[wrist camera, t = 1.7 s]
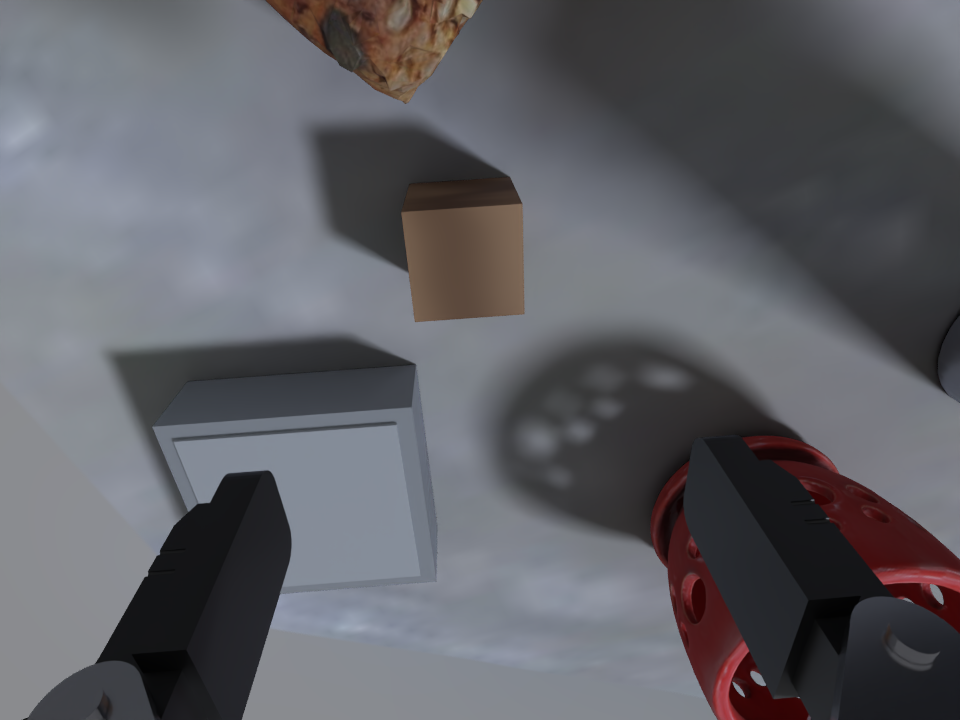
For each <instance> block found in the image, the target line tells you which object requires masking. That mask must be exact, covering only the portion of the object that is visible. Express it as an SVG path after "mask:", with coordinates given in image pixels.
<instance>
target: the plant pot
mask: <svg viewBox="0 0 960 720" xmlns="http://www.w3.org/2000/svg"><path fill="white" fill-rule="evenodd" d="M742 439H743V440H744V441H745V442H746V444H747V445H748V446H749V448H750V449H751V450H752V452H753V453H754V454H755V456H756V457H757V458H758V460H759V461H761V460H772V461H773V462H775V463H776V464H777V465H779V466H780V467H782V468H783V469H785V470H786V471H788V472H789V473H791V474H792V475H794V476H795V477H797V479H798V480H799V481H800V482H801V484H802V485H803V486H804V487H805V488H806V490H807V491H808V492H809V493H810V495H811V496H812V497H813V498H814V501H815V504H819V506H820V507H821V508H822V509H823V511H824V512H825V513H826V514H827V516H828V517H829V520H830V523H834V524H835V525H836V527H837V528H838V529H839V530H840V532H841V533H842V534H843V535H844V536H845V538H846V539H847V540H848V541H849V543H850V544H851V545H852V546H853V548H854V549H855V550H856V551H857V552H858V554H859V555H860V556H861V557H862V559H863V560H864V561H865V562H866V564H867V565H868V566H869V567H870V568H871V570H872V571H873V572H874V573H875V575H876V576H877V577H878V578H879V580H880V581H881V582H882V583H883V585H884V586H885V587H886V588H887V589H888V591H889V592H890V593H891V594H892V595H893V596H894V598H898V599H902V600H903V599H904V598H908V599H910V600H911V601H912V602H913V603H914V604H916V605H919V606H921V607H923V608H925V609H927V610H929V611H931V612H933V613H934V614H936V615H937V616H939V617H940V618H942V619H943V620H945V621H946V622H947V623H948V624H950V625H951V626H952V627H953V628H954V629H955V630H956V631H957V632H958V633H959V634H960V559H959V558H957V557H956V556H955V555H954V554H953V553H952V552H951V551H950V550H949V549H948V548H947V547H945V546H944V545H943V544H942V543H941V542H940V541H939V540H938V539H936V538H935V537H934V536H933V535H932V534H931V533H930V532H928V531H927V530H926V529H925V528H923V527H922V526H921V525H920V524H918V523H917V522H916V521H915V520H913V519H912V518H911V517H909V516H908V515H907V514H905V513H904V512H902V511H901V510H900V509H898V508H897V507H895V506H894V505H892V504H891V503H889V502H888V501H886V500H885V499H883V498H882V497H880V496H879V495H877V494H876V493H875V492H873V491H871V490H870V489H868V488H866V487H865V486H863V485H861V484H859V483H857V482H855V481H853V480H851V479H849V478H847V477H845V476H843V475H840V474H839V472H838V470H837V468H836V467H835V465H834V464H833V463H832V462H831V460H830V459H829V458H828V457H827V456H825V455H824V454H823V453H821V452H820V451H819V450H817V449H816V448H814V447H812V446H810V445H808V444H806V443H804V442H801V441H798V440H795V439H791V438H786V437H780V436H751V437H743V438H742ZM688 467H689V461H688V462H687V463H685V464H684V465H683V466H682V467H681V468H680V469H679V470H678V471H677V472H676V473H675V474H674V475H673V476H672V477H671V478H670V479H669V480H668V482H667V483H666V484H665V486H664V487H663V489H662V490H661V492H660V494H659V496H658V498H657V500H656V503H655V505H654V508H653V512H652V516H651V527H650V531H651V538H652V543H653V546H654V549H655V552H656V554H657V556H658V557H659V559H660V560H661V562H662V563H663V564H664V565H665V566H666V567H667V568H668V580H669V589H670V596H671V601H672V606H673V611H674V615H675V619H676V622H677V626H678V629H679V633H680V636H681V639H682V641H683V644H684V647H685V650H686V653H687V655H688V658H689V660H690V663H691V665H692V668H693V670H694V673H695V675H696V677H697V680H698V682H699V684H700V687H701V689H702V691H703V693H704V695H705V697H706V699H707V701H708V703H709V705H710V707H711V709H712V711H713V713H714V715H715V716H716V717H717V719H718V720H807V718H808V715H809V713H808V712H807V710H806V708H805V706H804V704H803V702H802V700H801V699H800V698H797V697H791V698H780V699H773V697H772V695H771V693H770V691H769V689H768V687H767V685H766V686H761V685H758V684H757V683H756V682H755V681H754V680H753V679H752V677H751V675H750V672H751V671H755V672H757V673H759V674H761V673H760V671H759V669H758V667H757V665H756V663H755V661H754V659H753V657H752V655H751V653H750V651H749V649H748V647H747V645H746V643H745V641H744V639H743V637H742V635H741V633H740V631H739V629H738V627H737V625H736V623H735V621H734V619H733V617H732V615H731V613H730V611H729V609H728V607H727V605H726V603H725V601H724V600H723V598H722V596H721V594H720V592H719V590H718V588H717V586H716V584H715V582H714V580H713V578H712V576H711V574H710V572H709V570H708V568H707V566H706V564H705V562H704V560H703V558H702V556H701V554H700V552H699V550H698V548H697V546H696V544H695V542H694V540H693V538H692V536H691V534H690V531H689V529H688V526H687V523H686V520H685V515H684V507H683V499H684V492H685V486H686V480H687V474H688ZM930 584H934V585H936V586H937V587H938V588H939V589H940V591H941V593H942V595H943V600H944V604H943V605H942V604H940V603H939V602H938V601H937V600H936V598H935V597H934V596H933V594H932V592H931V588H930ZM732 681H733V682H735V683H736V684H737V685H738V686H739V687H740V688H741V689H742V691H743V693H744V695H745V697H743V696H741V695H740V694H739V693H738V692H737V691H736V689H735V688H734V685H733V683H732Z"/></svg>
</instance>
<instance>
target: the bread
mask: <svg viewBox="0 0 960 720" xmlns="http://www.w3.org/2000/svg"><path fill="white" fill-rule="evenodd" d="M266 1H267V2H268V3H269V4H270V5H271V6H272V7H273V8H274V9H275V10H276V11H277V12H278V13H279V14H280V15H281V16H282V17H283V18H284V19H286V20H287V21H288V22H289V23H290V24H291V25H292V26H293V27H294V28H296V29H297V30H298V31H299V32H300V33H301V34H302V35H303V36H305V37H306V38H307V39H308V40H309V41H310V42H312V43H313V44H314V45H315V46H317V47H318V48H319V49H320V50H322V51H323V52H324V53H325V54H327V55H328V56H330V57H332V58H333V59H335V60H337V62H338V63H339V65H340V66H342V67H343V68H345V69H347V70H349V71H350V72H354V73H355V74H357V75H358V76H359V77H360V78H362V79H363V80H364V81H365V82H366V83H368V84H369V85H370V86H371V87H372V88H374V89H375V90H377V91H379V92H382V93H384V94H386V95H388V96H390V97H393V98H395V99H397V100H401V101H403V102H404V103H405V104H406V103H408V102H409V101H410V99H411V98H412V96H413V95H414V93H415V91H416V89H417V87H418V86H419V85H420V84H422V83H423V82H425V80H426V79H428V78H429V77H430V76H431V75H432V74H433V72H434V71H435V69H436V67H437V66H438V64H439V63H440V61H441V59H442V58H443V56H444V55H445V53H446V52H447V50H448V48H449V47H450V45H451V44H452V42H453V40H454V39H455V37H456V36H457V35H458V34H459V31H460V30H461V28H462V27H463V26H464V24H465V23H466V21H467V20H468V19H469V18H470V19H471V18H472V16H473V15H474V13H475V11H476V10H477V8H478V7H479V5H480V4H481V2H482V0H266Z"/></svg>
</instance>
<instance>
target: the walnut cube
mask: <svg viewBox="0 0 960 720" xmlns="http://www.w3.org/2000/svg"><path fill="white" fill-rule="evenodd" d="M401 215H402V223H403V231H404V239H405V247H406V255H407V263H408V271H409V279H410V287H411V295H412V303H413V311H414V319H415V322H422V321H436V320H450V319H464V318H478V317H492V316H506V315H520V314H524V264H523V210H522V202H521V200H520V198H519V196H518V193H517V191H516V189H515V187H514V185H513V183H512V181H511V178H510V177H501V178H487V179H472V180H457V181H442V182H428V183H413V184H409V187H408V191H407V194H406V197H405V201H404V204H403V208H402V211H401Z"/></svg>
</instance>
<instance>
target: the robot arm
mask: <svg viewBox="0 0 960 720" xmlns="http://www.w3.org/2000/svg"><path fill="white" fill-rule="evenodd" d="M938 375H939V379H940V382H941V385H942V387H943V388H944V390H945V391H946V392H947V394H948V395H949V396H951V397H952V398H953V399H955V400H956V401H958V402H959V403H960V316H959V317H958V318H957V320H956V321H955V322H954V324H953V325H952V326H951V328H950V330H949V332H948V334H947V336H946V338H945V340H944V342H943V344H942V347H941V351H940V355H939V358H938ZM683 507H684V515H685V520H686V523H687V526H688V529H689V531H690V534H691V536H692V538H693V540H694V542H695V544H696V546H697V548H698V550H699V552H700V554H701V556H702V558H703V560H704V562H705V564H706V566H707V568H708V570H709V572H710V574H711V576H712V578H713V580H714V582H715V584H716V586H717V588H718V590H719V592H720V594H721V596H722V598H723V600H724V601H725V603H726V605H727V607H728V609H729V611H730V613H731V615H732V617H733V619H734V621H735V623H736V625H737V627H738V629H739V631H740V633H741V635H742V637H743V639H744V641H745V643H746V645H747V647H748V649H749V651H750V653H751V655H752V657H753V659H754V661H755V663H756V665H757V667H758V669H759V671H760V673H761V675H762V677H763V679H764V681H765V683H766V685H767V687H768V689H769V691H770V693H771V695H772V697H773V699H780V698H791V697H800V699H801V700H802V702H803V704H804V706H805V708H806V710H807V712H808V713H809V715H808V718H807V720H960V634H959V633H958V632H957V631H956V630H955V629H954V628H953V627H952V626H951V625H950V624H948V623H947V622H946V621H945V620H943V619H942V618H940V617H939V616H937V615H936V614H934V613H933V612H931V611H929V610H927V609H925V608H923V607H921V606H919V605H916V604H914V603H912V602H909V601H905V600H902V599H898V598H894V596H893V595H892V594H891V593H890V592H889V591H888V589H887V588H886V587H885V586H884V585H883V583H882V582H881V581H880V580H879V578H878V577H877V576H876V575H875V573H874V572H873V571H872V570H871V568H870V567H869V566H868V565H867V564H866V562H865V561H864V560H863V559H862V557H861V556H860V555H859V554H858V552H857V551H856V550H855V549H854V548H853V546H852V545H851V544H850V543H849V541H848V540H847V539H846V538H845V536H844V535H843V534H842V533H841V532H840V530H839V529H838V528H837V527H836V525H835V524H834V523H830V520H829V517H828V516H827V514H826V513H825V512H824V511H823V509H822V508H821V507H820V506H819V504H815V501H814V498H813V497H812V496H811V495H810V493H809V492H808V491H807V490H806V488H805V487H804V486H803V485H802V484H801V482H800V481H799V480H798V479H797V477H795V476H794V475H792V474H791V473H789V472H788V471H786V470H785V469H783V468H782V467H780V466H779V465H777V464H776V463H775V462H773V461H772V460H761V461H759V460H758V458H757V457H756V456H755V454H754V453H753V452H752V450H751V449H750V448H749V446H748V445H747V444H746V442H745V441H744V440H743V439H742V438H741V437H740V436H738V435H728V436H715V437H702V438H696V439H695V440H694V442H693V445H692V449H691V455H690V461H689V467H688V474H687V480H686V486H685V492H684V499H683ZM291 549H292V538H291V530H290V526H289V523H288V520H287V516H286V513H285V510H284V507H283V504H282V500H281V497H280V494H279V491H278V487H277V484H276V481H275V478H274V476H273V474H272V473H271V472H270V471H269V470H264V471H251V472H238V473H228V474H226V475H225V476H224V477H223V479H222V480H221V482H220V484H219V486H218V488H217V490H216V492H215V494H214V496H213V498H212V500H211V502H210V503H200V504H197V505H196V506H194V507H193V508H192V509H191V510H190V511H189V512H188V513H187V514H186V515H185V516H184V517H183V518H182V519H181V520H180V521H179V522H178V523H176V524H175V525H174V527H173V528H172V530H171V532H170V534H169V536H168V537H167V539H166V541H165V543H164V544H163V546H162V548H161V550H160V555H158V556H157V557H156V558H155V560H154V562H153V564H152V565H151V567H150V569H149V571H148V577H145V578H144V580H143V581H142V583H141V585H140V587H139V588H138V590H137V592H136V594H135V595H134V597H133V599H132V601H131V602H130V604H129V606H128V608H127V609H126V611H125V613H124V615H123V616H122V618H121V620H120V622H119V624H118V625H117V627H116V629H115V631H114V632H113V634H112V636H111V638H110V639H109V641H108V643H107V645H106V647H105V648H104V650H103V652H102V653H101V655H100V657H99V659H98V660H97V662H96V663H95V664H94V665H91V666H89V667H86V668H84V669H82V670H80V671H78V672H76V673H74V674H73V675H71V676H70V677H68V678H66V679H65V680H63V681H62V682H61V683H59V684H58V685H57V686H56V687H54V688H53V689H52V690H51V691H50V692H49V693H48V694H47V695H46V696H45V697H44V698H43V699H42V700H41V701H40V702H39V703H38V705H37V706H36V707H35V708H34V710H33V711H32V712H31V714H30V715H29V717H28V718H25V719H23V720H242V717H243V713H244V710H245V707H246V704H247V700H248V697H249V693H250V690H251V687H252V684H253V681H254V677H255V674H256V671H257V667H258V664H259V661H260V658H261V654H262V651H263V648H264V644H265V641H266V638H267V635H268V631H269V628H270V625H271V621H272V618H273V615H274V612H275V608H276V605H277V602H278V598H279V595H280V592H281V589H282V585H283V582H284V579H285V575H286V572H287V569H288V566H289V562H290V557H291Z"/></svg>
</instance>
